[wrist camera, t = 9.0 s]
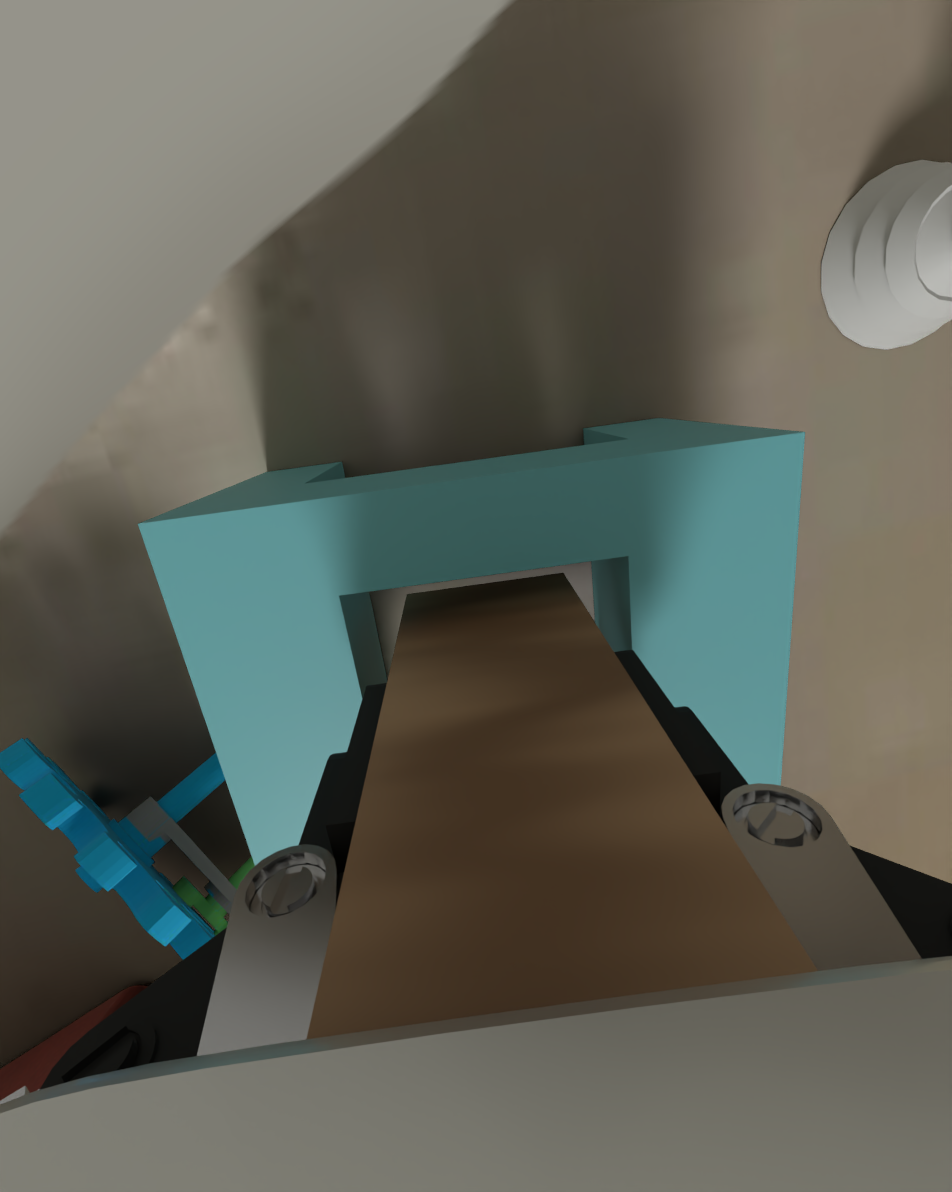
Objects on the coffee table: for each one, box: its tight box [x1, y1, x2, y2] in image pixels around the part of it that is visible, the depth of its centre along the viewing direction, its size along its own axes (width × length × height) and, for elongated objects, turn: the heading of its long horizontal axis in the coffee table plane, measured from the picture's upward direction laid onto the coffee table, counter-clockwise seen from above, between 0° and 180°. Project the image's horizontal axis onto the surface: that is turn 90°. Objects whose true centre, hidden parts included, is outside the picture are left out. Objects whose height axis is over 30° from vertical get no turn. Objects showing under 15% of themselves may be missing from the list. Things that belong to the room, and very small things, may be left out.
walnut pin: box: [307, 573, 818, 1039], centre depth 9 cm, size 4×4×12 cm
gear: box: [0, 738, 255, 960], centre depth 20 cm, size 11×6×10 cm
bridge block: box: [138, 418, 805, 866], centre depth 16 cm, size 13×10×8 cm
